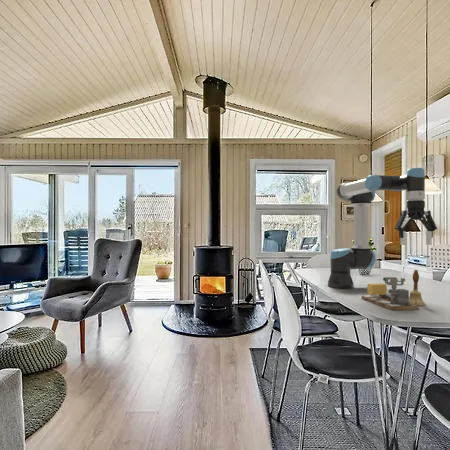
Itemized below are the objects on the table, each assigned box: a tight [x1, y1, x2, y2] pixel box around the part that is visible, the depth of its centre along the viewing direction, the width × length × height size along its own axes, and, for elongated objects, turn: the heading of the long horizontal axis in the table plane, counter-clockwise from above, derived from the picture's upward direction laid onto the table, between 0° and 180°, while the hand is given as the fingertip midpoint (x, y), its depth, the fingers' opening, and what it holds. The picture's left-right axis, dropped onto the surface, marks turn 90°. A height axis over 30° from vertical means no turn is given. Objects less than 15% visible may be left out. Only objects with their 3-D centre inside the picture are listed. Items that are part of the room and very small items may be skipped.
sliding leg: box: [367, 282, 388, 296], centre depth 163 cm, size 4×8×6 cm, turn 98°
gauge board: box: [361, 288, 420, 311], centre depth 156 cm, size 24×13×8 cm, turn 8°
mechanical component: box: [382, 276, 406, 297], centre depth 172 cm, size 3×10×10 cm, turn 79°
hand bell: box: [409, 269, 427, 306], centre depth 156 cm, size 8×8×16 cm
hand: (416, 244), depth 157 cm, fingers open, 13 cm apart
